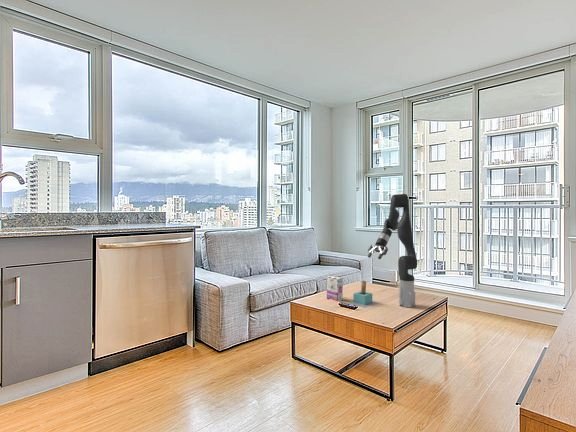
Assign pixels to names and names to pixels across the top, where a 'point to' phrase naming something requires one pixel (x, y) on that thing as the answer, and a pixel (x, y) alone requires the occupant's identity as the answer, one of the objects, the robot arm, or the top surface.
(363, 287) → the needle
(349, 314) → the top surface
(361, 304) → the board
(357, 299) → the teal block with hole
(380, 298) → the top surface
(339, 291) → the candy bar box
